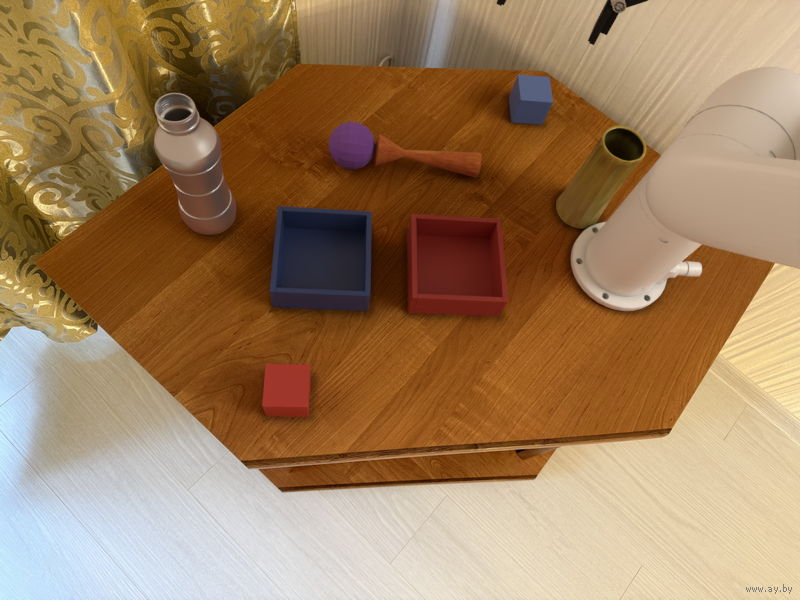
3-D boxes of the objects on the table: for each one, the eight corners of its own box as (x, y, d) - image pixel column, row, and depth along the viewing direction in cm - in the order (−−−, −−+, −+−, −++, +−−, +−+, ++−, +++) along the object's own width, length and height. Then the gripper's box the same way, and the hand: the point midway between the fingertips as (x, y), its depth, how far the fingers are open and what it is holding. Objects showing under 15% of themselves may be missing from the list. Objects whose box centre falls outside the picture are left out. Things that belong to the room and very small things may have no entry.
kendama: (484, 176, 76) (328, 152, 73) (470, 194, 82) (325, 173, 79) (485, 134, 78) (333, 109, 74) (472, 154, 83) (329, 132, 80)
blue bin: (369, 230, 76) (371, 211, 72) (367, 311, 71) (370, 296, 67) (280, 225, 75) (277, 205, 71) (273, 307, 70) (269, 291, 66)
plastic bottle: (199, 189, 75) (158, 71, 57) (248, 207, 75) (223, 95, 57) (174, 230, 73) (123, 120, 54) (225, 249, 72) (191, 145, 54)
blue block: (539, 100, 88) (549, 77, 84) (542, 124, 86) (553, 102, 82) (508, 97, 87) (517, 74, 83) (511, 122, 86) (520, 99, 81)
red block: (311, 376, 67) (309, 364, 63) (308, 417, 65) (307, 407, 61) (269, 375, 67) (265, 363, 63) (266, 416, 65) (262, 406, 61)
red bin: (492, 236, 77) (501, 218, 73) (498, 316, 73) (508, 301, 69) (406, 232, 76) (411, 213, 72) (407, 312, 72) (412, 297, 68)
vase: (597, 234, 79) (649, 171, 66) (553, 223, 79) (596, 158, 66) (600, 196, 82) (651, 128, 69) (557, 186, 82) (600, 116, 69)
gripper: (753, -162, 44) (639, 26, 60) (538, -247, 45) (482, -41, 61) (735, -107, 41) (620, 75, 57) (505, -200, 42) (455, 5, 58)
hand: (549, 15), depth 59 cm, fingers open, 9 cm apart
